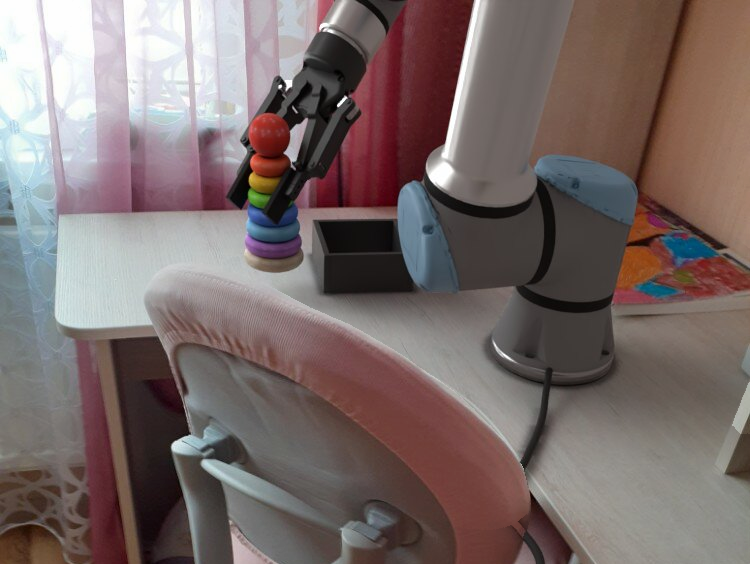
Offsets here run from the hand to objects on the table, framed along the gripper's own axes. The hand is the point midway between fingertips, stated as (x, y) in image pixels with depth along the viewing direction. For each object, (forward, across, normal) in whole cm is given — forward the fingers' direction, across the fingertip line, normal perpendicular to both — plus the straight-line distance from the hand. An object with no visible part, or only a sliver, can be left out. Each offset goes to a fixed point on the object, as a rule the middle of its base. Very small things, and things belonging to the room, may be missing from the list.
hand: (251, 211), depth 106 cm
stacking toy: (+3, 0, -8) cm, 9 cm away
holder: (-3, -4, -20) cm, 21 cm away
